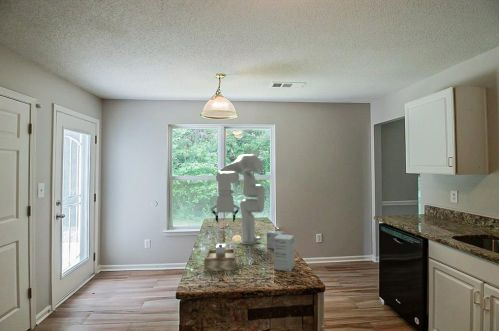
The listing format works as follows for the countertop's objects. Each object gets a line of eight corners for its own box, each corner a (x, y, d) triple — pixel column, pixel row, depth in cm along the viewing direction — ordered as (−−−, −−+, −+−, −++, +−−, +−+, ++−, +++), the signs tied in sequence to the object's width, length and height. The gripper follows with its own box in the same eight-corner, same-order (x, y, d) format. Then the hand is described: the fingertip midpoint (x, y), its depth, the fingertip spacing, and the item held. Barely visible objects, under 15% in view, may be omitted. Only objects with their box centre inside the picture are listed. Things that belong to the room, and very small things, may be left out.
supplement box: (279, 263, 156) (278, 233, 156) (295, 265, 152) (294, 235, 152) (273, 269, 147) (273, 237, 147) (290, 271, 143) (290, 239, 143)
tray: (235, 260, 162) (235, 249, 162) (234, 270, 146) (234, 257, 147) (208, 260, 162) (208, 249, 162) (204, 270, 146) (204, 258, 146)
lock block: (225, 254, 158) (225, 242, 158) (225, 258, 151) (224, 245, 151) (216, 254, 158) (216, 242, 158) (215, 258, 151) (215, 245, 151)
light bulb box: (284, 247, 187) (284, 231, 187) (281, 250, 181) (281, 233, 181) (270, 245, 192) (269, 230, 192) (266, 248, 186) (266, 232, 186)
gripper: (239, 191, 167) (240, 219, 167) (210, 192, 166) (211, 220, 167) (239, 193, 159) (240, 222, 160) (209, 194, 159) (210, 223, 159)
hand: (225, 221), depth 163 cm, fingers open, 9 cm apart
